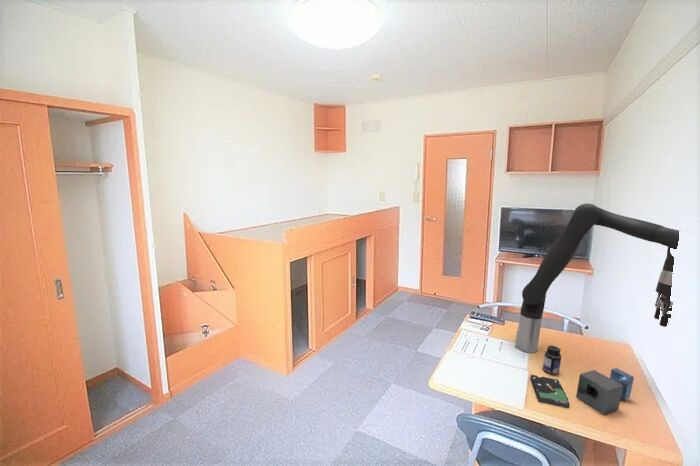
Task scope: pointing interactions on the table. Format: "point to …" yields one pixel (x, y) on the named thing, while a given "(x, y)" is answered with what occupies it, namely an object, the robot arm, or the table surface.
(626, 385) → the silver metal piece
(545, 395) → the disk drive
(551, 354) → the pill bottle
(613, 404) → the bearing block
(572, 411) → the table surface
